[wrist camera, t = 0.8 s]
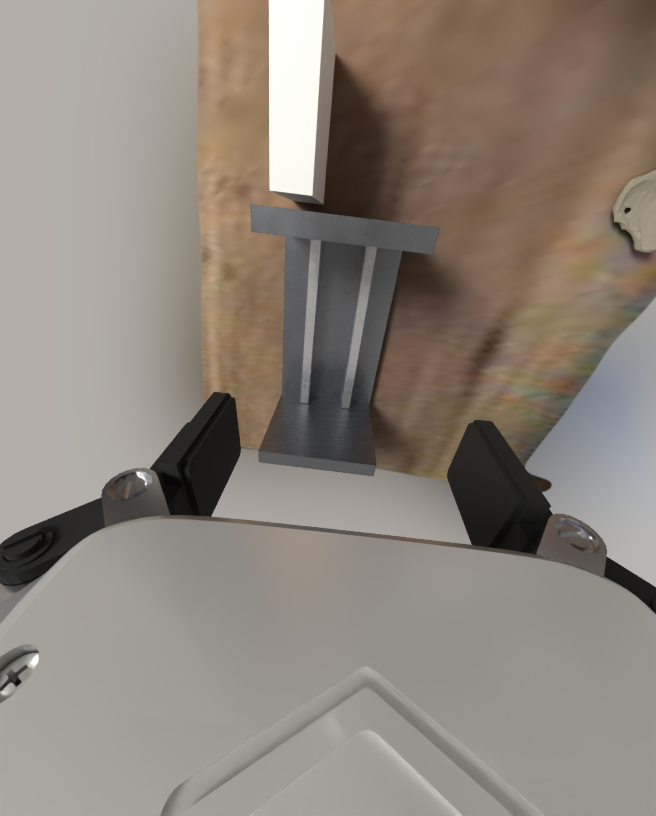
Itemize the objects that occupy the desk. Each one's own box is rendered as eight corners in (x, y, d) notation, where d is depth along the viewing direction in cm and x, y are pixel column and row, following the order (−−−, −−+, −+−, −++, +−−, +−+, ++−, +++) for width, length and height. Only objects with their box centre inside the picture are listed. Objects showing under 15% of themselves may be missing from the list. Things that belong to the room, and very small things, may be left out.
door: (298, 48, 23) (268, -53, 15) (335, 53, 23) (327, -46, 15) (293, 201, 28) (269, 190, 20) (323, 204, 28) (312, 195, 20)
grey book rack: (288, 212, 29) (250, 203, 18) (406, 227, 29) (440, 227, 18) (283, 398, 41) (258, 462, 30) (367, 409, 41) (373, 476, 30)
